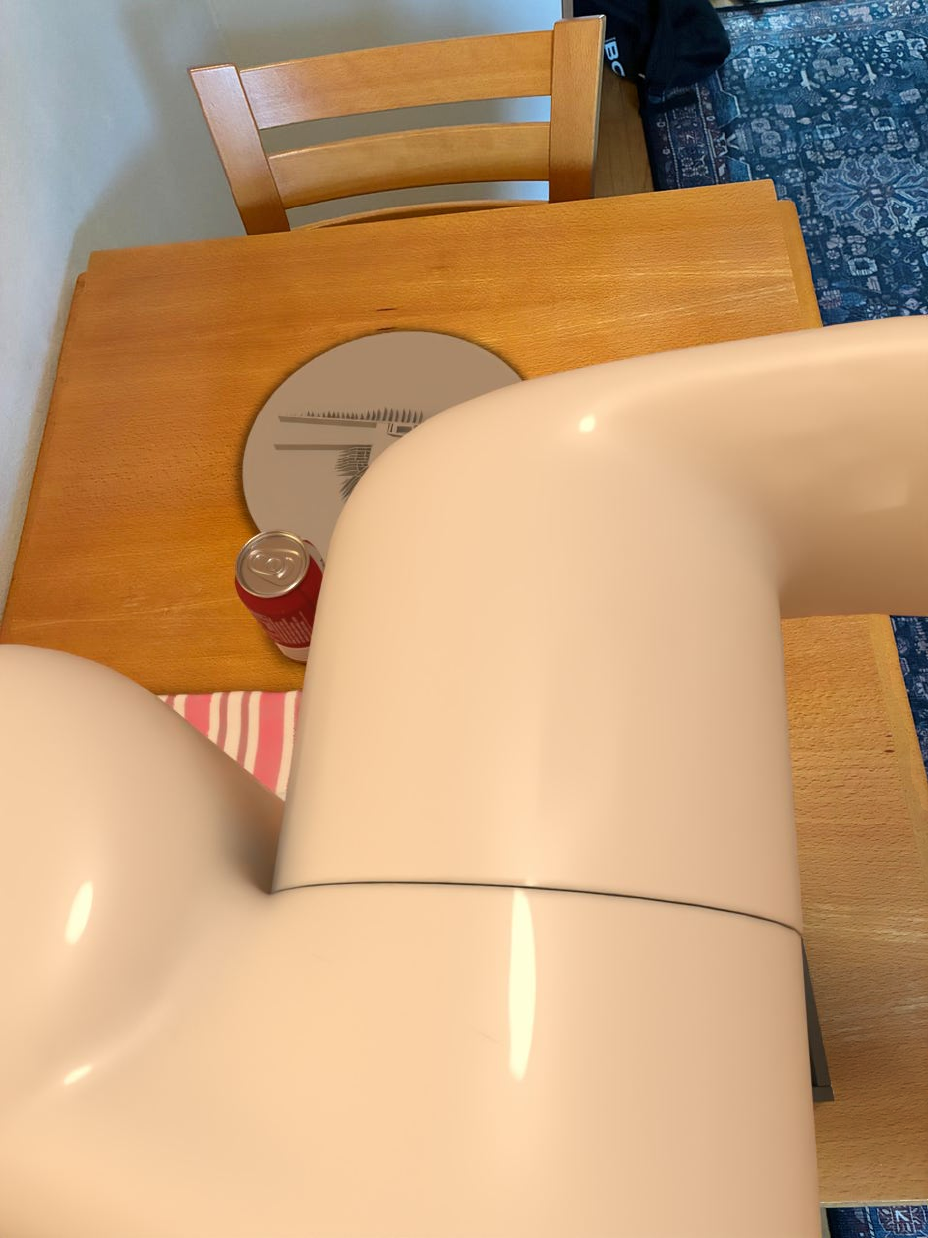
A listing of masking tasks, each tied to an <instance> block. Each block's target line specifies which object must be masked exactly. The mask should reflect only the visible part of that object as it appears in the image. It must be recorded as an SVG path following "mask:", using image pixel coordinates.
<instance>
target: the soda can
mask: <svg viewBox="0 0 928 1238" xmlns="http://www.w3.org/2000/svg"><path fill="white" fill-rule="evenodd" d="M234 563H235V564H234V572H235V573H234V584H235V585H234V587H235V590H236V593H237V596H238V597H239V599H240V601H241V602H242V603H243V605H244V606H245V608H246V609H247V610H248V611H249V613H250V614H251V615H252V617H253V618H254V619H255V621H256V622H257V623H258V625H259V626H260V627H261V628H262V630H263V631H264V632H265V633H266V635H267V636H268V637H269V639H270V640H271V641H272V643H273V644H274V645H275V647H276V648H277V649H278V651H280V653H281V654H282V655H284V656H285V657H286V658H288V659H290V660H292V661H295V662H297V663H302V664H303V663H304V664H307V660H308V654H309V648H310V643H311V637H312V631H313V625H314V620H315V614H316V608H317V602H318V597H319V592H320V588H321V583H322V578H323V574H324V569H325V562H324V560H323V558H322V557H321V555H320V553H319V551H318V550H317V548H316V547H315V546H314V545H313V544H312V543H311V542H309V541H308V540H306V539H304V538H302V537H300V536H297V535H295V534H294V533H291V532H289V531H285V530H269V531H265V532H262V533H261V532H260V533H258V534H256V535H254V536H253V537H251V538H249V540H247V541H246V542H245V543H244V544H243V546H242V547H241V548H240V550H239V552H238V553H237V556H236V559H235V562H234Z"/></svg>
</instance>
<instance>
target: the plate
mask: <svg viewBox="0 0 928 1238" xmlns="http://www.w3.org/2000/svg"><path fill="white" fill-rule="evenodd" d="M522 381H523V380H522V378H521V377H520V376H519V375H518V374H517V373H516V371H514V370H513V369H512V368H511V367H510V366H509V365H508V364H507V363H505V362H504V361H503V360H502V359H500V358H499V357H498V356H497V355H496V354H494V353H492V352H490V351H488V350H487V349H485V348H483V347H482V346H478V345H477V344H475V343H473V342H470V341H467V340H464V339H461V338H458V337H456V336H452V335H448V334H442V333H436V332H428V331H413V330H412V331H410V330H409V331H408V330H406V331H391V332H385V333H378V334H373V335H368V336H364V337H361V338H357V339H354V340H350V341H349V342H346V343H343V344H340V345H338V346H336V347H334V348H332V349H330V350H328V351H325V352H324V353H321V354H320V355H319V356H317V357H315V358H314V359H311V360H310V361H309V362H307V363H306V364H304V365H303V366H301V367H300V368H299V369H298V370H296V371H295V372H294V373H292V374H291V375H290V376H289V377H288V378H287V379H285V381H284V382H283V383H282V384H281V385H280V386H278V388H277V389H276V390H275V391H274V392H273V393H272V394H271V396H270V397H269V399H268V400H267V402H266V403H265V404H264V405H263V407H262V408H261V410H260V411H259V413H258V415H257V416H256V419H255V421H254V424H253V425H252V428H251V430H250V432H249V435H248V438H247V441H246V445H245V449H244V454H243V459H242V486H243V492H244V497H245V501H246V504H247V508H248V512H249V513H250V516H251V517H252V519H253V522H254V524H255V526H256V527H257V528H258V530H259V532H260V533H262V532H265V531H269V530H285V531H289V532H291V533H294V534H295V535H297V536H300V537H302V538H304V539H306V540H308V541H309V542H311V543H312V544H313V545H314V546H315V547H316V548H317V550H318V551H319V553H320V555H321V557H322V558H323V560H324V562H325V564H326V560H327V555H328V550H329V545H330V541H331V538H332V535H333V532H334V529H335V526H336V523H337V520H338V518H339V516H340V514H341V512H342V510H343V508H344V506H345V504H346V502H347V500H348V498H349V496H350V494H351V493H352V491H353V490H354V488H355V486H356V485H357V483H358V482H359V480H360V479H361V477H362V476H363V475H364V473H365V472H366V471H367V469H368V468H369V467H370V465H371V464H372V462H373V461H374V460H375V459H376V458H377V457H379V456H380V455H381V454H382V453H383V452H384V451H385V450H386V449H387V448H388V447H389V446H390V445H391V444H393V443H394V442H396V441H397V440H399V439H400V438H401V437H403V436H404V435H406V434H407V433H409V432H410V431H411V430H413V429H414V428H416V427H417V426H418V425H420V424H421V423H423V422H424V421H426V420H427V419H429V418H431V417H433V416H435V415H437V414H439V413H441V412H443V411H445V410H446V409H448V408H451V407H453V406H456V405H458V404H461V403H463V402H466V401H469V400H471V399H474V398H476V397H479V396H481V395H484V394H486V393H489V392H491V391H494V390H497V389H500V388H503V387H506V386H509V385H512V384H515V383H518V382H522Z"/></svg>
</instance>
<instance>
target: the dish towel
mask: <svg viewBox="0 0 928 1238" xmlns="http://www.w3.org/2000/svg"><path fill="white" fill-rule="evenodd" d="M156 696H157V697H159V698H160V699H161V700H163V701H164V702H165V703H167V704H168V705H169V706H170V707H171V708H173V709H174V710H175V711H176V712H177V713H179V714H180V715H181V716H182V717H183V718H185V719H186V720H187V721H188V722H189V723H191V724H192V725H193V726H194V727H196V728H197V729H198V730H199V731H200V732H202V733H203V734H204V735H205V736H206V737H208V738H209V739H210V740H211V741H212V742H214V743H215V744H216V745H217V746H218V747H220V748H221V749H222V750H223V751H224V752H226V753H227V754H228V755H229V756H230V757H232V758H233V759H234V760H235V761H237V762H238V763H239V764H240V765H241V766H243V767H244V768H245V769H246V770H247V771H249V772H250V773H251V774H252V775H253V776H255V777H256V778H257V779H258V780H259V781H261V782H262V783H263V784H264V785H265V786H267V787H268V788H269V789H270V790H271V791H273V792H274V793H280V792H287V785H288V779H289V773H290V766H291V760H292V754H293V747H294V741H295V735H296V728H297V722H298V716H299V709H300V703H301V697H302V690H289V691H280V692H279V691H277V692H273V691H272V692H271V691H270V692H269V691H261V690H250V691H246V690H234V691H228V692H223V691H219V692H212V693H202V694H184V693H183V694H182V693H181V694H172V695H171V694H158V695H156Z"/></svg>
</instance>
